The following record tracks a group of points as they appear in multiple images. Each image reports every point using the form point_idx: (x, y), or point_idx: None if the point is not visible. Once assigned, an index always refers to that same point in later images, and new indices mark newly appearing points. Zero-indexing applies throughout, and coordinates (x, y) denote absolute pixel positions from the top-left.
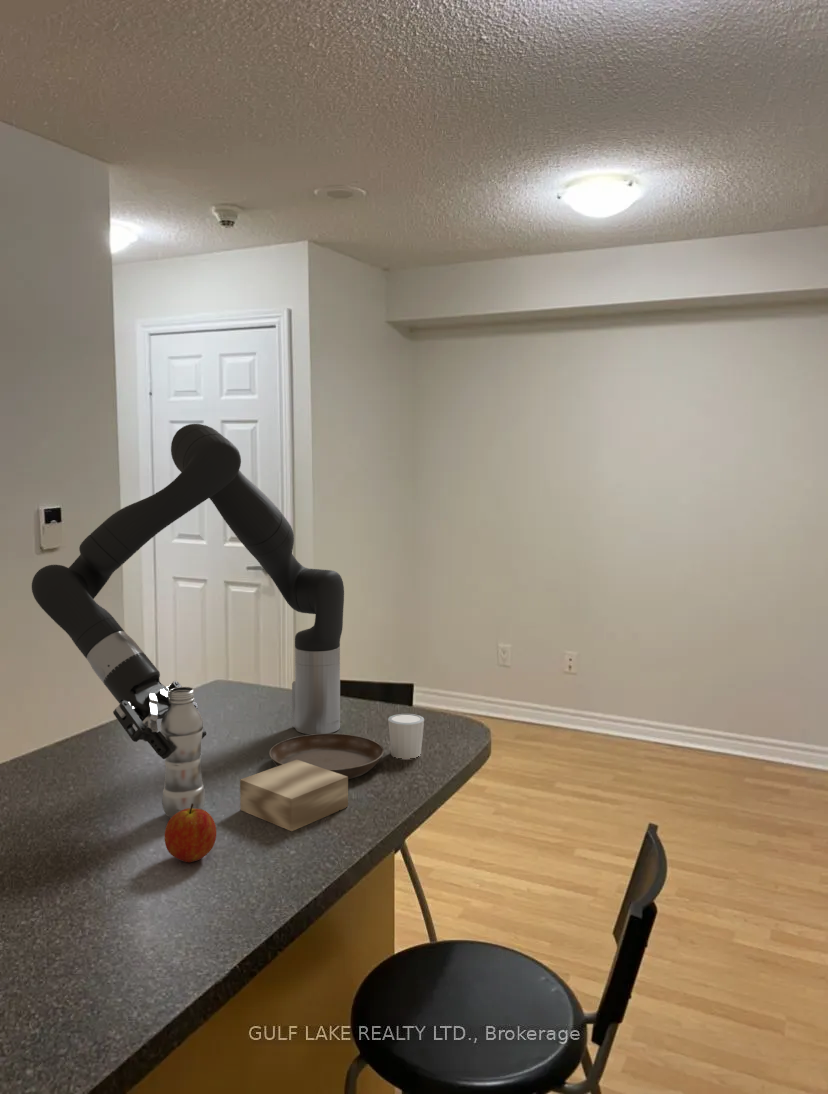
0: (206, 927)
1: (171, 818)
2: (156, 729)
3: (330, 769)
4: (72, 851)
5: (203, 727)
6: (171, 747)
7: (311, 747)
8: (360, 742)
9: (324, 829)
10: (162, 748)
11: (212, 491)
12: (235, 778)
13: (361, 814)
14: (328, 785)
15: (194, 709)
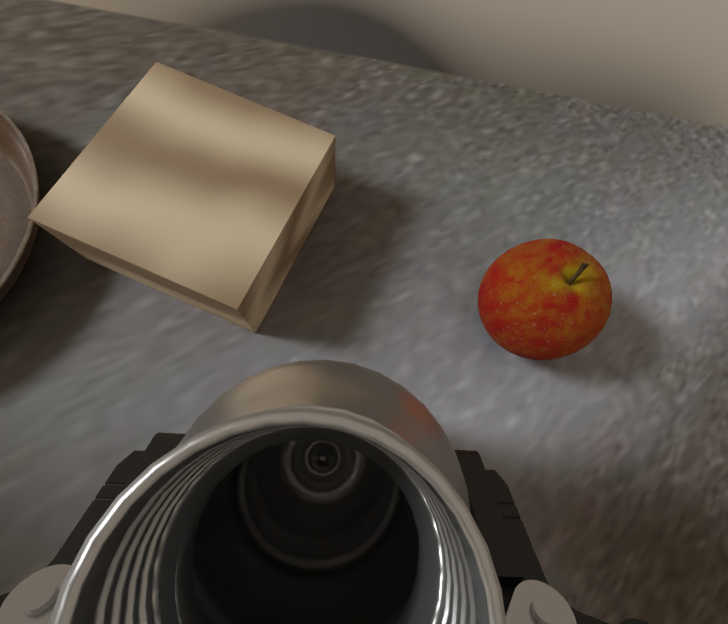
0: (675, 187)
1: (597, 323)
2: (523, 596)
3: (31, 158)
4: (600, 617)
5: (115, 470)
6: (467, 458)
7: None
8: None
9: None
10: (509, 490)
11: None
12: (20, 461)
13: None
14: (220, 91)
15: (292, 404)
